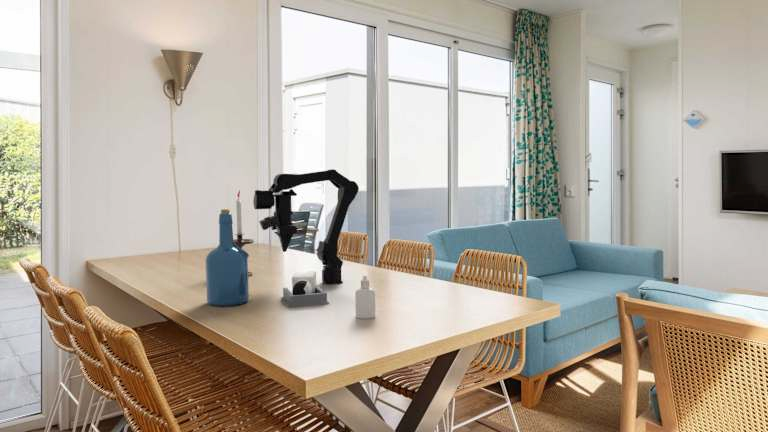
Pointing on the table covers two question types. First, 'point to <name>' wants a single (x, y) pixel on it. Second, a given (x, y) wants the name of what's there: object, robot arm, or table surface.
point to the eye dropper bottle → (365, 300)
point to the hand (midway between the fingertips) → (284, 251)
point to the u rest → (305, 298)
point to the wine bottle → (227, 268)
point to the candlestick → (239, 240)
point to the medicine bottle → (304, 282)
